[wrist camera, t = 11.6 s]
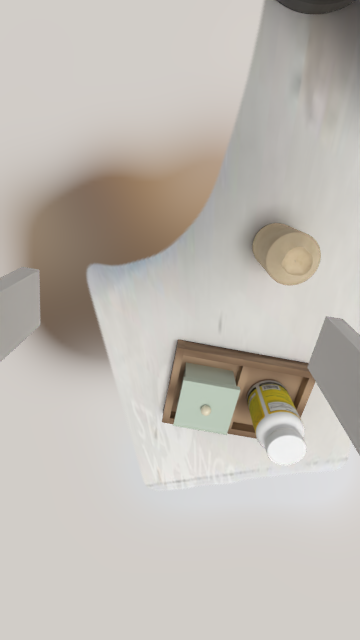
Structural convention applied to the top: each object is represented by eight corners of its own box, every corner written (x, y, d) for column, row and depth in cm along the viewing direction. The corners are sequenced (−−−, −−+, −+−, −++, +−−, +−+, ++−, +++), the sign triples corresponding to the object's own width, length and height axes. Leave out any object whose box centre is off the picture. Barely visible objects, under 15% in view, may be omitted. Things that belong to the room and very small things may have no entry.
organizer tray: (178, 339, 47) (177, 347, 44) (312, 364, 47) (318, 373, 45) (163, 411, 52) (162, 422, 49) (285, 432, 52) (289, 444, 50)
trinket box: (184, 360, 47) (183, 385, 41) (235, 369, 47) (241, 395, 42) (175, 402, 50) (172, 431, 44) (223, 411, 50) (227, 440, 44)
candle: (248, 264, 42) (264, 287, 33) (256, 220, 40) (275, 231, 31) (290, 268, 42) (318, 291, 33) (300, 224, 40) (332, 236, 31)
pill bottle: (260, 419, 51) (277, 478, 40) (238, 392, 49) (250, 446, 39) (295, 399, 49) (322, 455, 39) (274, 371, 47) (296, 422, 37)
